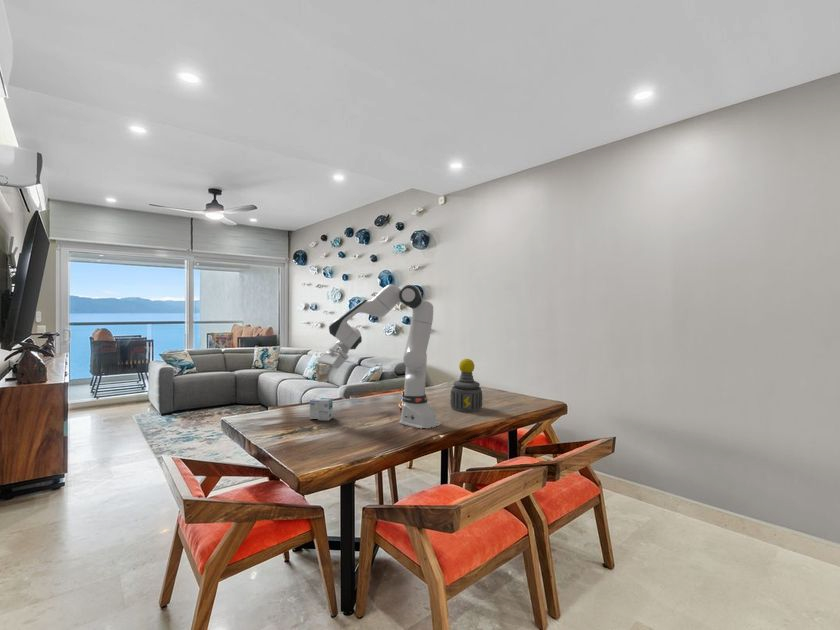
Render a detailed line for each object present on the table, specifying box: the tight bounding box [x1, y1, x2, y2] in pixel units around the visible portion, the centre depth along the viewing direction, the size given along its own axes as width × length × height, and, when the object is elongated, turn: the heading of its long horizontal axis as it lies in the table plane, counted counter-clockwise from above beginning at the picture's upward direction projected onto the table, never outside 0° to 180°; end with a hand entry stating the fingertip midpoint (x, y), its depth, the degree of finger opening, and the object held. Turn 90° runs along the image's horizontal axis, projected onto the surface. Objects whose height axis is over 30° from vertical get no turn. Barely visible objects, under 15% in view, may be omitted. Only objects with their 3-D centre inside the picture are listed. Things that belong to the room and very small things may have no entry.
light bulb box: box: [309, 397, 334, 421], centre depth 224 cm, size 11×7×11 cm, turn 84°
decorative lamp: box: [449, 358, 484, 413], centre depth 251 cm, size 19×19×30 cm
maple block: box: [315, 363, 328, 383], centre depth 223 cm, size 5×4×9 cm
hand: (320, 371), depth 223 cm, fingers closed on maple block, 5 cm apart
